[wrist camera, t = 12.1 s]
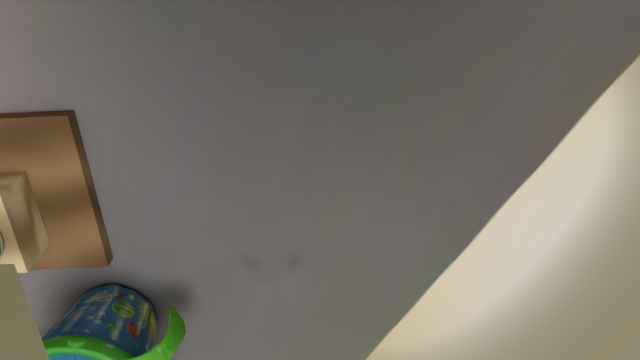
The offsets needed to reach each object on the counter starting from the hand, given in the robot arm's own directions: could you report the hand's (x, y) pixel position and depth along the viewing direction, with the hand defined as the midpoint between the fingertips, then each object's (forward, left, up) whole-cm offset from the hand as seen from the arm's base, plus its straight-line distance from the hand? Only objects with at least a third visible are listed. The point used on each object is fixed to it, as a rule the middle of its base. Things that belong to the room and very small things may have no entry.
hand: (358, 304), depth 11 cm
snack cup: (+26, -21, -32) cm, 46 cm away
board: (+13, -28, -32) cm, 44 cm away
